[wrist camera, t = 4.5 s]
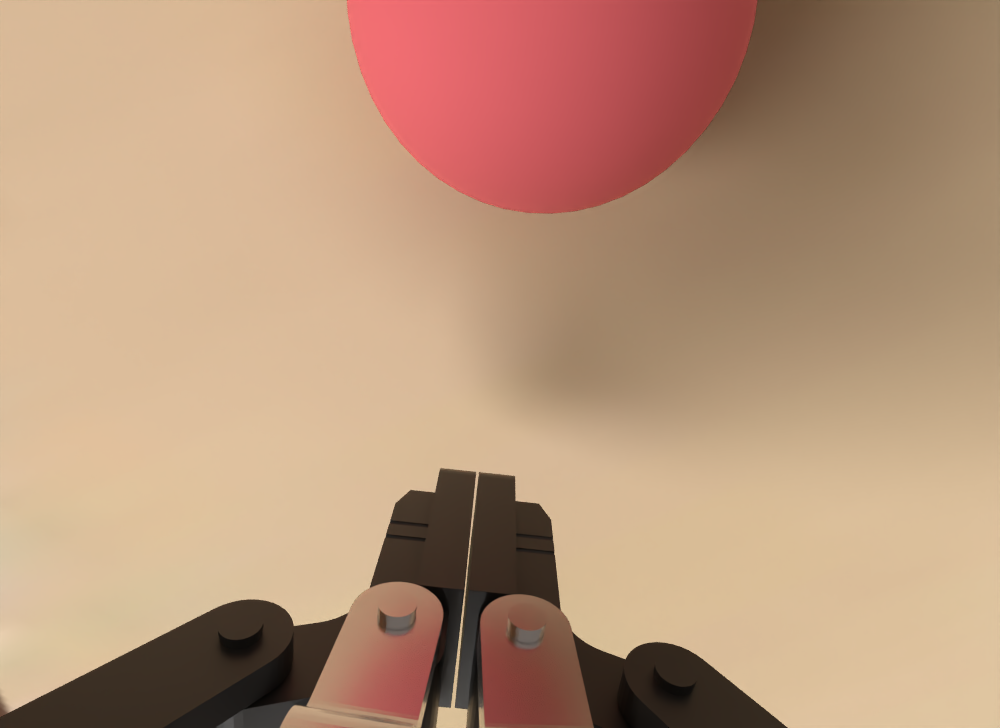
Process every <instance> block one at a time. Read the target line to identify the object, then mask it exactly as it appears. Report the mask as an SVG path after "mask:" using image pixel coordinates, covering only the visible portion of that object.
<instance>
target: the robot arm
mask: <svg viewBox="0 0 1000 728" xmlns="http://www.w3.org/2000/svg"><path fill="white" fill-rule="evenodd" d="M475 478H476V472H471V471H462V470H453V469H443V468H440V472H439V477H438V482H437V486H436V491H435V493H433V492H424V491H414V490H410V491H409V492H408V493H407V494H406V495H405V496H403V497H402V498H401V499H400V500H399V501H398V502H397V503H396V504H395V507H394V510H393V514H392V517H391V520H390V524H389V527H388V530H387V533H386V538H385V540H384V543H383V546H382V549H381V553H380V556H379V559H378V562H377V566H376V569H375V572H374V575H373V579H372V582H371V585H370V588H369V589H367V590H366V591H364V592H363V593H361V594H360V595H359V596H358V597H357V598H356V599H355V601H354V603H353V604H352V606H351V608H350V611H349V612H348V613H347V614H345V615H343V616H341V617H338V618H336V619H332V620H329V621H325V622H320V623H313V624H306V625H299V626H294V625H293V621H292V618H291V617H290V615H289V614H288V612H287V611H286V610H285V609H283V608H282V607H280V606H279V605H276V604H274V603H271V602H268V601H263V600H240V601H235V602H231V603H228V604H225V605H222V606H220V607H217V608H215V609H213V610H211V611H209V612H207V613H205V614H203V615H201V616H199V617H197V618H195V619H193V620H191V621H189V622H187V623H185V624H183V625H181V626H179V627H177V628H176V629H174V630H172V631H170V632H168V633H166V634H164V635H162V636H160V637H158V638H156V639H154V640H152V641H150V642H148V643H146V644H144V645H142V646H140V647H138V648H136V649H134V650H132V651H130V652H128V653H126V654H124V655H122V656H120V657H118V658H116V659H114V660H112V661H110V662H108V663H106V664H104V665H102V666H100V667H98V668H96V669H95V670H93V671H91V672H89V673H87V674H85V675H83V676H81V677H79V678H77V679H75V680H73V681H71V682H69V683H67V684H65V685H63V686H61V687H59V688H57V689H55V690H53V691H51V692H49V693H47V694H45V695H43V696H41V697H39V698H37V699H35V700H33V701H31V702H29V703H27V704H25V705H23V706H21V707H19V708H17V709H15V710H14V711H12V712H10V713H8V714H6V715H4V716H2V717H0V728H436V723H437V715H438V707H449V708H451V700H452V692H453V683H454V675H455V666H456V658H457V649H458V640H459V632H460V623H461V615H462V606H463V598H464V589H465V579H466V569H467V559H468V548H469V538H470V528H471V518H472V508H473V498H474V488H475ZM455 708H462V709H468V712H467V725H466V728H787V727H786V726H785V725H784V724H782V723H781V722H780V721H779V720H777V719H776V718H775V717H774V716H772V715H771V714H770V713H769V712H767V711H766V710H765V709H764V708H762V707H761V706H760V705H759V704H758V703H756V702H755V701H754V700H753V699H751V698H750V697H749V696H748V695H746V694H745V693H744V692H743V691H741V690H740V689H739V688H738V687H736V686H735V685H734V684H733V683H731V682H730V681H729V680H728V679H726V678H725V677H724V676H723V675H722V674H720V673H719V672H718V671H717V670H715V669H714V668H713V667H712V666H710V665H709V664H708V663H707V662H705V661H704V660H703V659H701V658H700V657H699V656H697V655H696V654H694V653H692V652H691V651H689V650H687V649H684V648H682V647H679V646H676V645H673V644H668V643H660V642H654V643H646V644H642V645H640V646H638V647H636V648H634V649H633V650H632V651H631V652H630V653H629V654H628V656H627V658H626V659H623V658H620V657H617V656H615V655H612V654H609V653H606V652H603V651H601V650H599V649H596V648H594V647H592V646H590V645H589V644H587V643H585V642H584V641H582V640H581V639H580V638H578V637H577V636H576V635H575V634H574V633H573V632H572V629H571V626H570V623H569V621H568V619H567V617H566V616H565V615H564V614H563V612H562V611H561V609H560V599H559V590H558V581H557V571H556V562H555V555H554V543H553V534H552V525H551V519H550V518H549V517H548V515H547V514H546V513H545V511H544V510H543V509H542V507H541V506H540V505H539V504H537V503H527V502H518V501H515V476H509V475H500V474H491V473H481V472H479V478H478V486H477V495H476V503H475V512H474V520H473V529H472V537H471V546H470V555H469V565H468V575H467V585H466V596H465V606H464V617H463V627H462V638H461V648H460V659H459V669H458V680H457V690H456V701H455Z"/></svg>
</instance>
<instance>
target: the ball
mask: <svg viewBox="0 0 1000 728" xmlns="http://www.w3.org/2000/svg"><path fill="white" fill-rule="evenodd" d="M756 7H757V0H347V8H348V17H349V23H350V29H351V35H352V41H353V45H354V48H355V52H356V55H357V59H358V63H359V66H360V70H361V73H362V75H363V78H364V80H365V83H366V85H367V87H368V90H369V92H370V95H371V97H372V99H373V101H374V103H375V105H376V106H377V108H378V110H379V112H380V114H381V115H382V117H383V119H384V121H385V122H386V124H387V125H388V126H389V128H390V129H391V131H392V132H393V133H394V135H395V136H396V137H397V139H398V140H399V142H400V143H401V144H402V145H403V146H404V147H405V148H406V149H407V151H408V152H409V153H410V154H411V155H412V156H413V157H414V158H415V159H416V160H417V161H418V162H419V163H420V164H421V165H422V166H424V167H425V168H426V169H427V170H428V171H430V172H431V173H432V174H433V175H435V176H436V177H437V178H438V179H440V180H441V181H443V182H445V183H446V184H448V185H449V186H451V187H452V188H454V189H456V190H457V191H459V192H461V193H463V194H465V195H468V196H470V197H472V198H474V199H476V200H478V201H481V202H484V203H487V204H490V205H493V206H497V207H500V208H503V209H508V210H514V211H520V212H526V213H561V212H571V211H578V210H582V209H586V208H590V207H595V206H599V205H602V204H604V203H607V202H610V201H612V200H615V199H618V198H620V197H623V196H625V195H626V194H628V193H630V192H632V191H634V190H636V189H638V188H640V187H641V186H643V185H645V184H646V183H648V182H649V181H651V180H652V179H654V178H655V177H656V176H658V175H659V174H661V173H662V172H664V171H665V170H666V169H667V168H668V167H670V166H671V165H672V164H673V163H674V162H675V161H676V160H677V159H678V158H680V157H681V156H682V155H683V154H684V153H685V152H686V151H687V150H688V149H689V148H690V147H691V145H692V144H693V143H694V142H695V141H696V140H697V138H698V137H699V136H700V135H701V134H702V133H703V132H704V130H705V129H706V128H707V127H708V125H709V124H710V122H711V121H712V119H713V118H714V116H715V115H716V113H717V112H718V111H719V109H720V108H721V106H722V105H723V103H724V101H725V99H726V97H727V95H728V93H729V91H730V89H731V88H732V86H733V84H734V82H735V80H736V78H737V75H738V72H739V70H740V67H741V65H742V62H743V60H744V57H745V54H746V52H747V48H748V44H749V41H750V37H751V33H752V29H753V25H754V21H755V14H756Z"/></svg>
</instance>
